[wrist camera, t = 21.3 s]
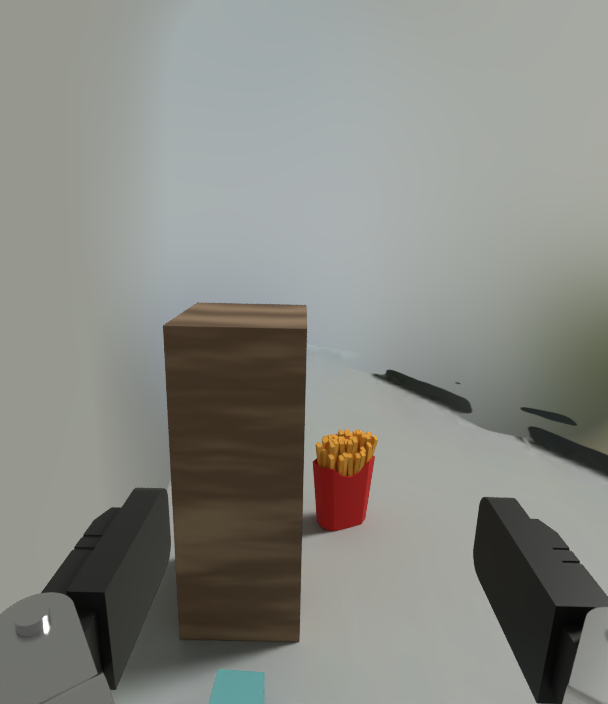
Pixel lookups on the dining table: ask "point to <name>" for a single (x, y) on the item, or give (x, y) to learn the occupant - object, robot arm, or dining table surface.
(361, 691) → the dining table surface
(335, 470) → the french fries
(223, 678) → the batten
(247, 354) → the wooden block
